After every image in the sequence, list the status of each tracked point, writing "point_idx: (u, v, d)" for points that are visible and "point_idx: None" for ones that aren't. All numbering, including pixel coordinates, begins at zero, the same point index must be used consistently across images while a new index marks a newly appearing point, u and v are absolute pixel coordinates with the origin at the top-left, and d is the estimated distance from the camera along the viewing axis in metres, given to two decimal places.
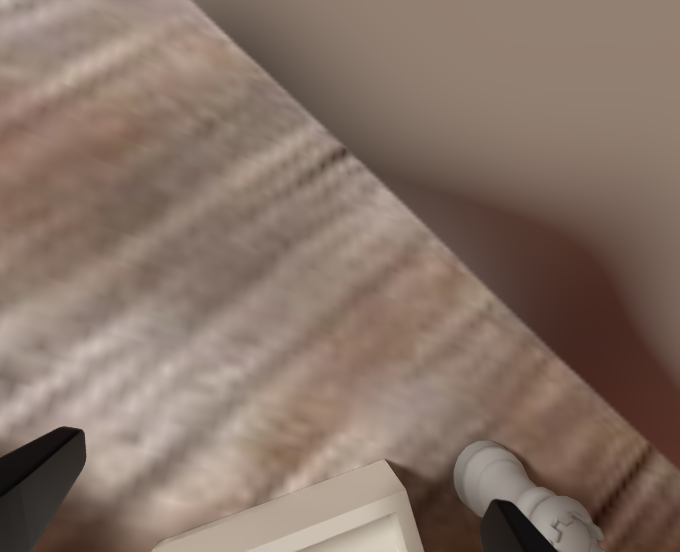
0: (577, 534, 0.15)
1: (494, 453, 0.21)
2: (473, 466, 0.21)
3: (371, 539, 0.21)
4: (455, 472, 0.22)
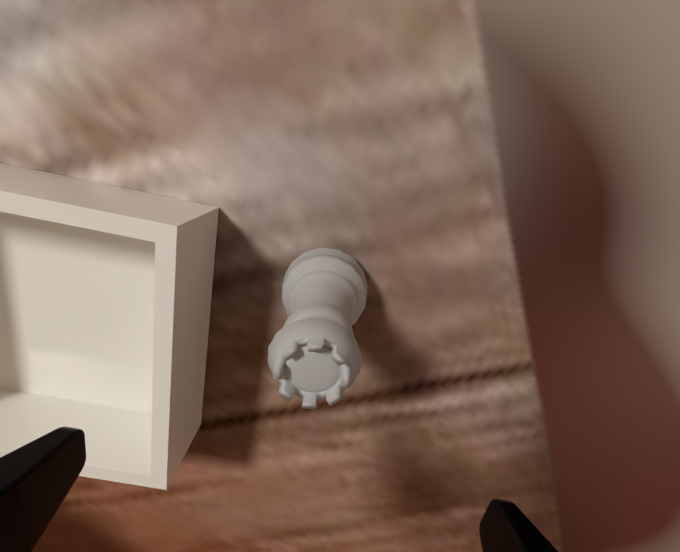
0: (322, 367, 0.11)
1: (339, 266, 0.16)
2: (305, 265, 0.16)
3: None
4: (291, 265, 0.18)
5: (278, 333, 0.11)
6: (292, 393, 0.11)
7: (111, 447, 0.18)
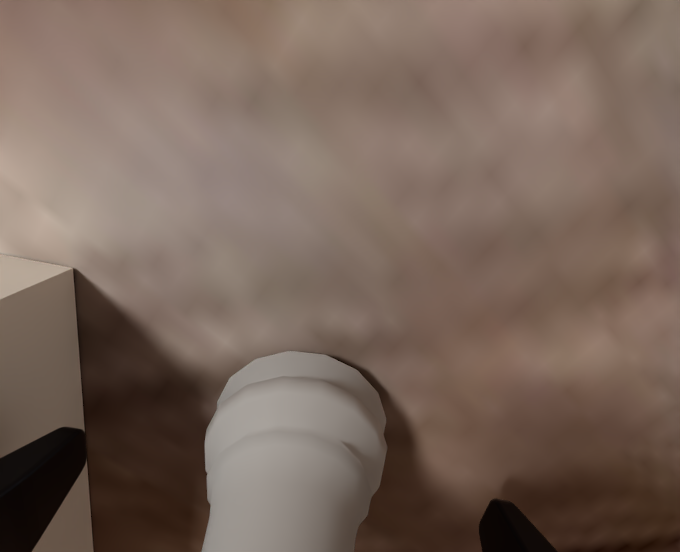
0: None
1: (325, 410, 0.07)
2: (249, 407, 0.07)
3: None
4: (230, 383, 0.08)
5: None
6: None
7: None
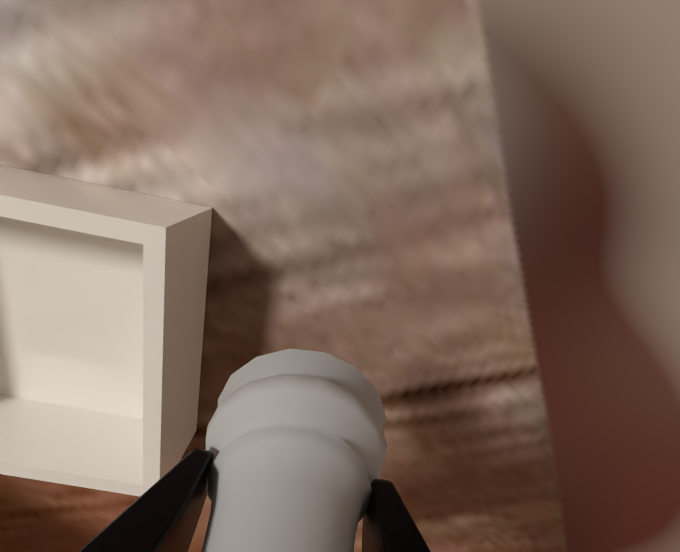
0: None
1: (326, 408, 0.07)
2: (251, 404, 0.07)
3: None
4: (231, 381, 0.09)
5: None
6: None
7: (103, 455, 0.18)
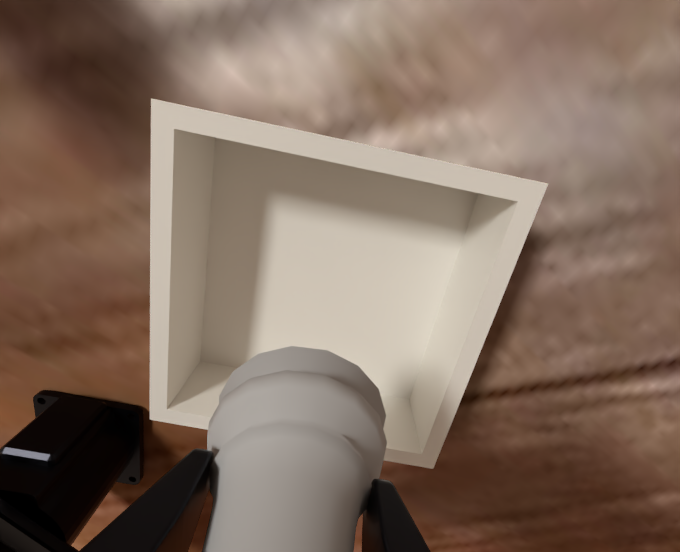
0: None
1: (327, 404, 0.07)
2: (253, 400, 0.07)
3: (432, 243, 0.17)
4: (233, 377, 0.09)
5: None
6: None
7: None
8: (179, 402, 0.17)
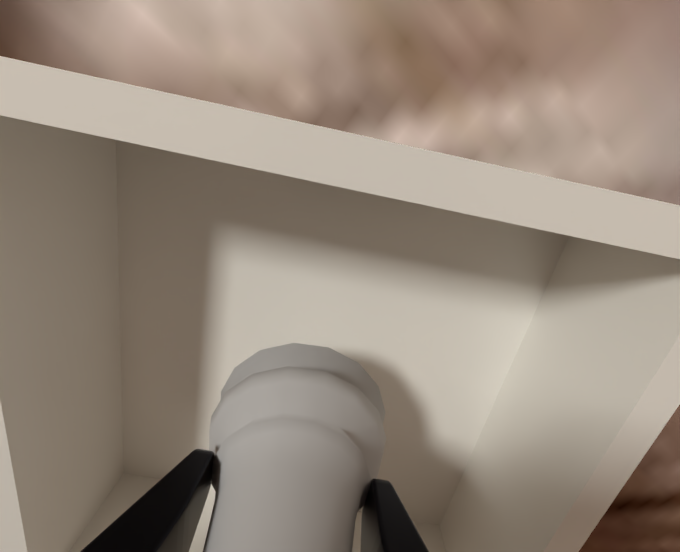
0: None
1: (328, 400, 0.07)
2: (255, 395, 0.07)
3: (489, 308, 0.10)
4: (234, 373, 0.09)
5: None
6: None
7: None
8: None
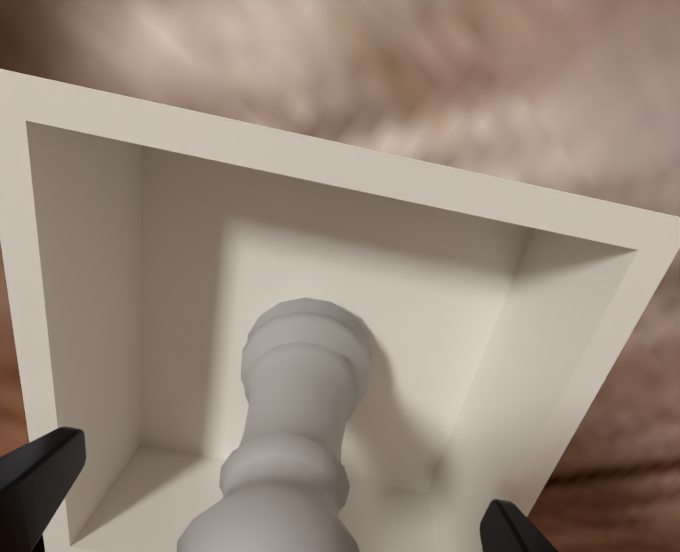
0: None
1: (330, 334, 0.10)
2: (278, 329, 0.10)
3: (466, 293, 0.12)
4: (259, 319, 0.12)
5: (195, 522, 0.06)
6: None
7: (370, 551, 0.12)
8: (93, 529, 0.11)
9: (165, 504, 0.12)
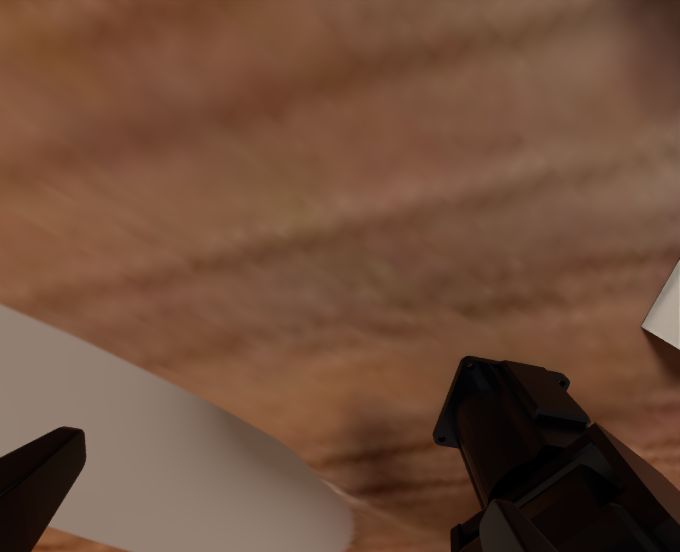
0: None
1: None
2: None
3: None
4: None
5: None
6: None
7: None
8: None
9: None
